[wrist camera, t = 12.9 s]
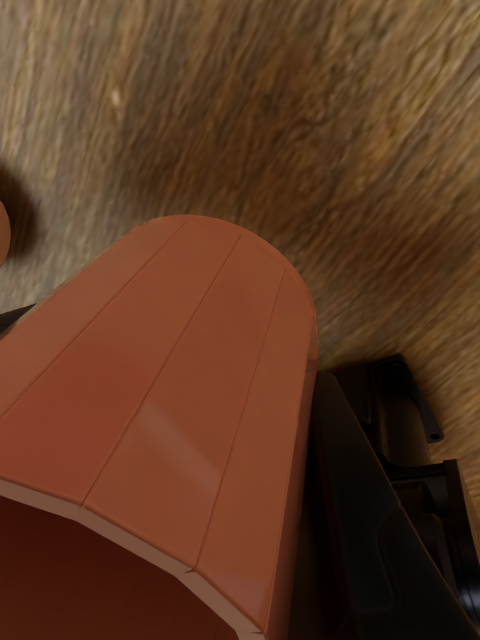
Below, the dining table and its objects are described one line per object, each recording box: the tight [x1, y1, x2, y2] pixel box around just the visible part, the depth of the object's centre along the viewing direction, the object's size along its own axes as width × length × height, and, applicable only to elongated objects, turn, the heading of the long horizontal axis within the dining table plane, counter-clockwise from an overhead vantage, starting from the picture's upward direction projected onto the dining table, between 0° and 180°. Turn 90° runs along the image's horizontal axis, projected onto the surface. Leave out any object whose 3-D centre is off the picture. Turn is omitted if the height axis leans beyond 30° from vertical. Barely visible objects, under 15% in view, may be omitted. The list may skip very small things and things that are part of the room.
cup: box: [0, 214, 319, 640], centre depth 8 cm, size 6×6×6 cm
